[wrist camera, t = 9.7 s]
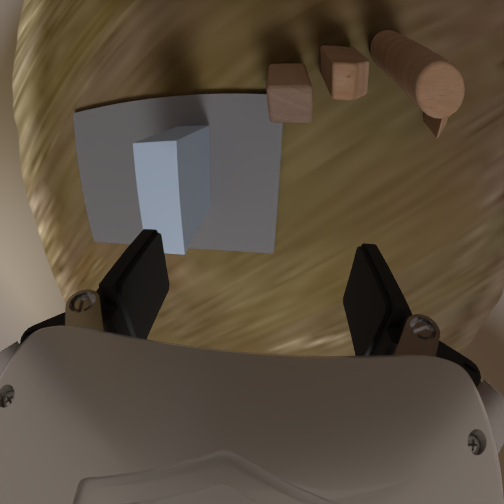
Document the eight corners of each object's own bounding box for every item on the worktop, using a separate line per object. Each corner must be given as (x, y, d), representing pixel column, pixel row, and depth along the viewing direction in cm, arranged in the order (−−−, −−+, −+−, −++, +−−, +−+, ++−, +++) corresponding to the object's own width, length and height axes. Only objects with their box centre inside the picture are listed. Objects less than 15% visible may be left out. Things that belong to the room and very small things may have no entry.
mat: (75, 112, 22) (73, 113, 22) (284, 95, 21) (284, 95, 21) (96, 239, 31) (94, 241, 30) (273, 250, 30) (273, 253, 29)
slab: (177, 126, 23) (132, 143, 15) (209, 125, 23) (176, 140, 15) (181, 204, 27) (147, 251, 19) (210, 206, 27) (184, 254, 19)
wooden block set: (273, 103, 24) (270, 164, 18) (264, 22, 17) (256, 41, 11) (438, 116, 21) (485, 178, 16) (452, 46, 14) (518, 90, 8)
